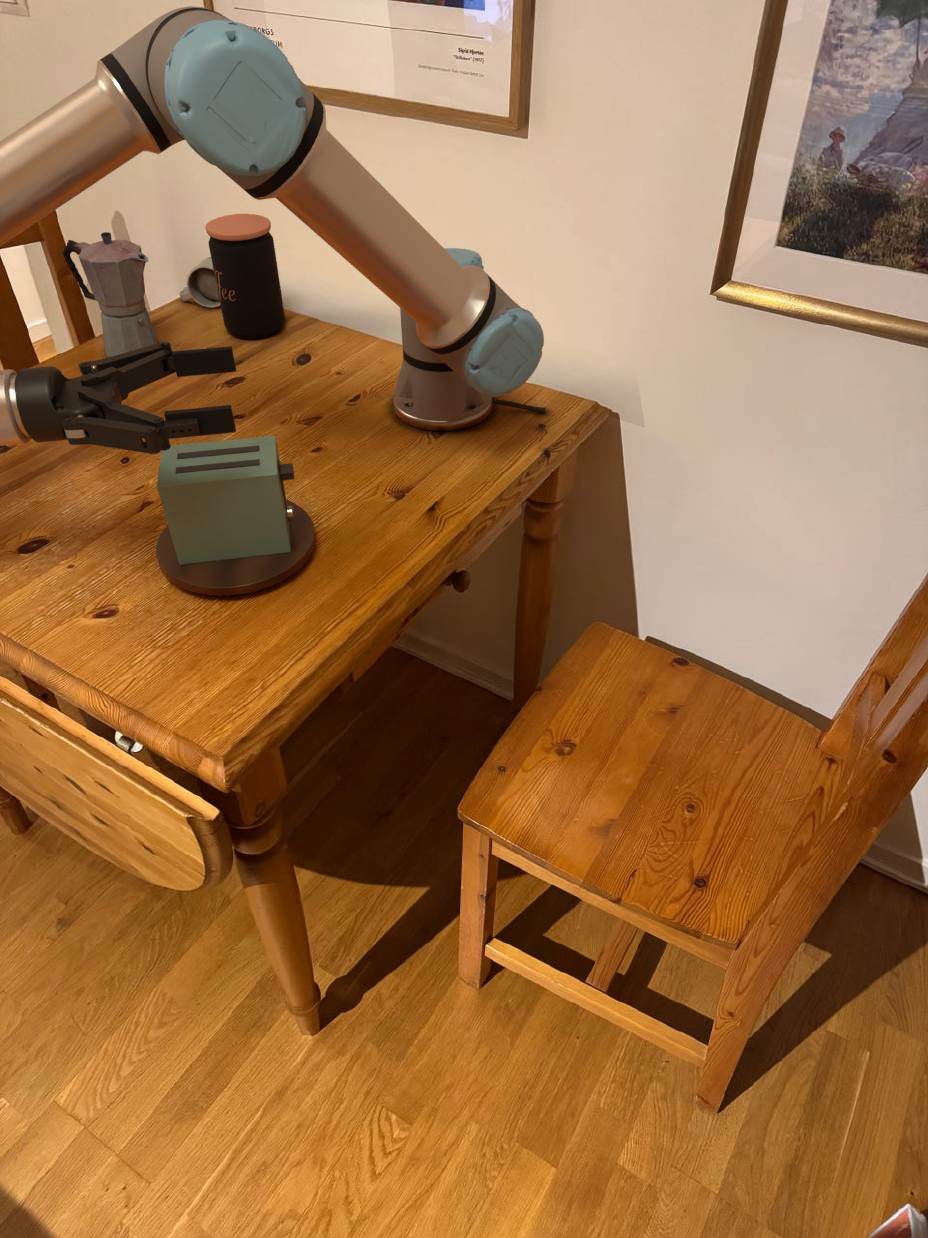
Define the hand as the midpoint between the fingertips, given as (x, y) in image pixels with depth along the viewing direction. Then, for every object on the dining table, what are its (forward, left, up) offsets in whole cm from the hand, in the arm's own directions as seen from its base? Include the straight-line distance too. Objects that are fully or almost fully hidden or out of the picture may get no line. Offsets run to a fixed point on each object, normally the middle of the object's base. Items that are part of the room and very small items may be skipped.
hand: (234, 387), depth 92 cm
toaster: (+3, +1, -21) cm, 21 cm away
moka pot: (+36, -52, -22) cm, 67 cm away
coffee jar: (+17, -63, -22) cm, 69 cm away
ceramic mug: (+29, -75, -22) cm, 84 cm away
